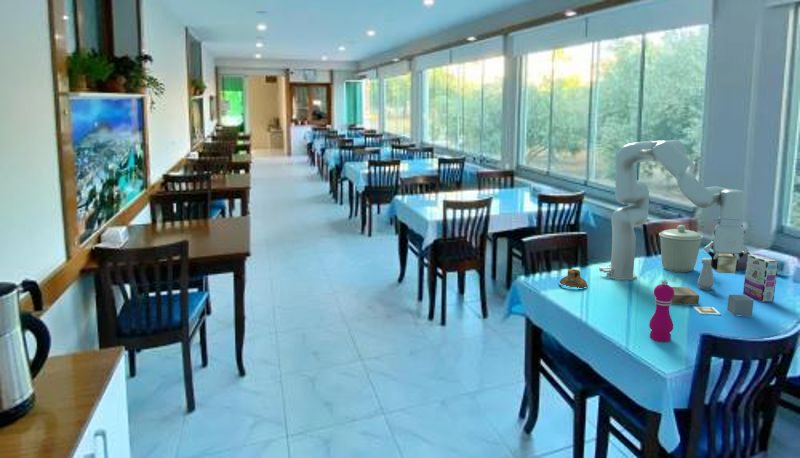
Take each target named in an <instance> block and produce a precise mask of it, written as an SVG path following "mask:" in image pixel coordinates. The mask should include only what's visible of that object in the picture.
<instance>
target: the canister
mask: <svg viewBox="0 0 800 458" xmlns="http://www.w3.org/2000/svg"><path fill="white" fill-rule="evenodd" d="M658 235H659V236H660V255H661V265H662V267H663V268H664V269H665V270H667V271H669V272H674V273H675V272H676V273H689V272H692V271H693V270H694V269H695V267H696V263H697V260H698V256H699V253H700V252H699V250H700V246H701V242H702V239H703V238H704V236H703V235H702V234H701V233H699V232H697V231H694V230H690V229H686V226H685V225H684V224H679V225H677V227H676V228H671V229H664V230H662V231H661V232H659V233H658Z"/></svg>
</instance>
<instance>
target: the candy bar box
mask: <svg viewBox="0 0 800 458" xmlns="http://www.w3.org/2000/svg"><path fill="white" fill-rule="evenodd" d="M779 263H780V262H779V261H778V260H776V259H773V258H771V257H767V256H764V255H761V254H751V255H748V256H747V265H746V269H745V274H744V283H743V291H742V292H743V294H742V295H747V296H748V297H750V298H751V299H753V300H756V301H758V302H761V303H774V299H775V291H776V290H775V289H776V284H777V283H776V282H777V275H778V268H779Z"/></svg>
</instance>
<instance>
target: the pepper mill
mask: <svg viewBox="0 0 800 458" xmlns="http://www.w3.org/2000/svg"><path fill="white" fill-rule="evenodd" d="M672 287H673V286H671V285H669V283H668V281H667V280H666V279H663V280H662V281H661V284H657V285H656V286H655V287H654V289H653V295H654V297H655V298H654V303H655V311H654V313H653V315H652V316H651V318H650V319H649V323H648V328H649V329H650V330H651V331H650V332H649V338H650V339H651V340H653V341H656V342H658V343H659V342H660V343H667V342H670V341H671V340H672V339H671V338H672V334H671V333H672V332H673V331H674V323H673V320H672V317H671V314H670V307H671V306H672V305H673V304H672V303H671V302H672V300H671V298H673V296H674V290H673V288H672Z"/></svg>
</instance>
